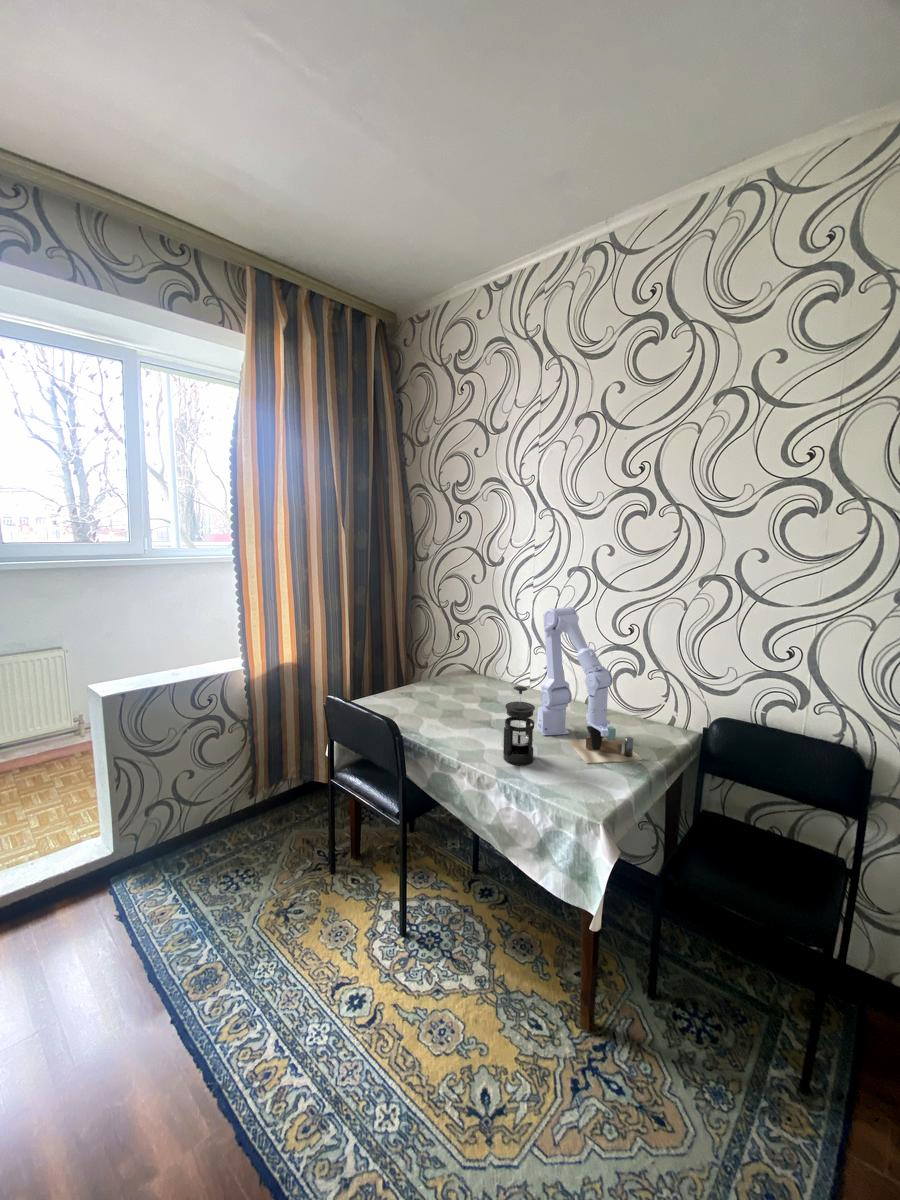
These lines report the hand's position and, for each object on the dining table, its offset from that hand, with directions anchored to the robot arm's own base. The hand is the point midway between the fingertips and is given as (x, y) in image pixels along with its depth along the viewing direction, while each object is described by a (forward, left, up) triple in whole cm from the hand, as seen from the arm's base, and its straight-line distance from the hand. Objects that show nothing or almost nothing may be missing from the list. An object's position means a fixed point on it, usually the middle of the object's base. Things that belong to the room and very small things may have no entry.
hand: (595, 749), depth 155 cm
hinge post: (+9, -3, -2) cm, 10 cm away
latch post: (+9, +9, -2) cm, 13 cm away
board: (+3, +2, -2) cm, 4 cm away
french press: (-26, 0, -2) cm, 26 cm away
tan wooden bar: (+3, +1, -1) cm, 3 cm away
